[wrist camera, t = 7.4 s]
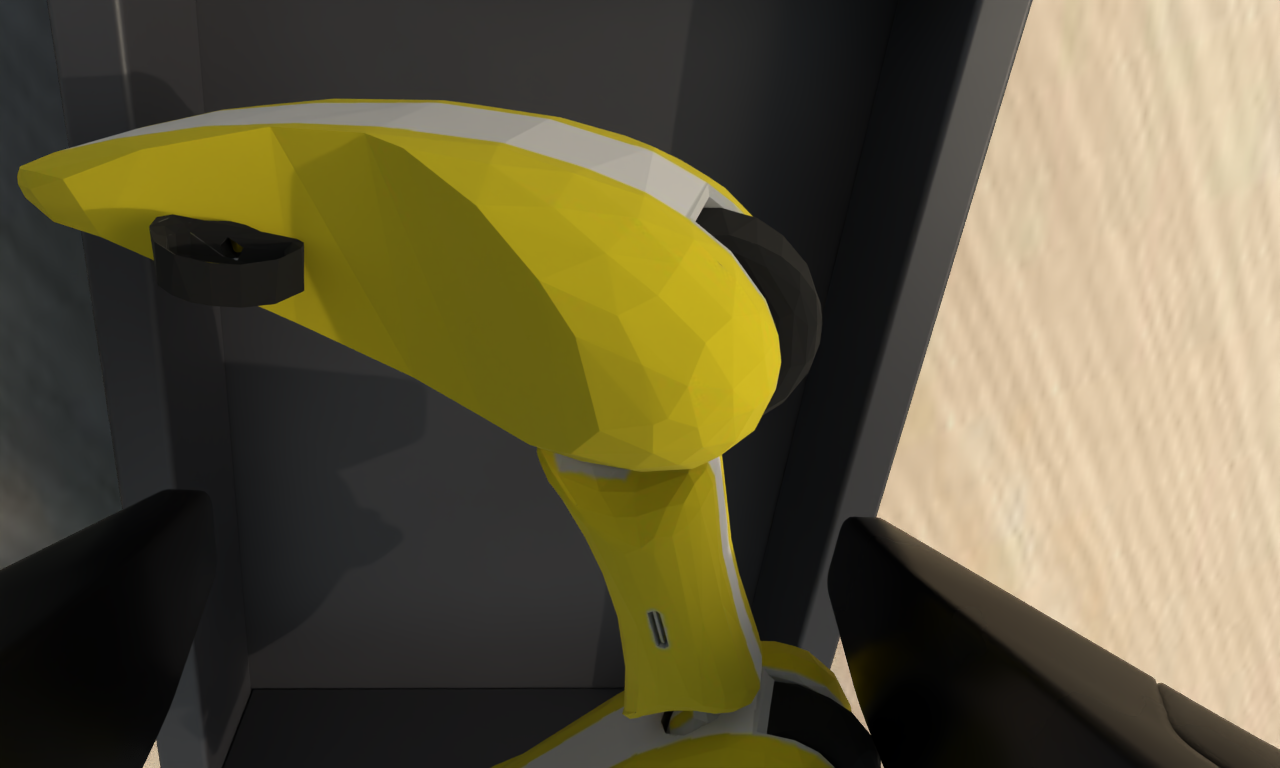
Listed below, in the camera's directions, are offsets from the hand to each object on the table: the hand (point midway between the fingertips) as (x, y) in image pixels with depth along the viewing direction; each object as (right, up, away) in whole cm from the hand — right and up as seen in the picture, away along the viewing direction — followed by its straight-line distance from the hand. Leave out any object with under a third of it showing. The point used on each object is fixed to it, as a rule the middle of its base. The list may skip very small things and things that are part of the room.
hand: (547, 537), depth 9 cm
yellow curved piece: (0, +1, +1) cm, 1 cm away
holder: (-1, +2, +4) cm, 5 cm away
